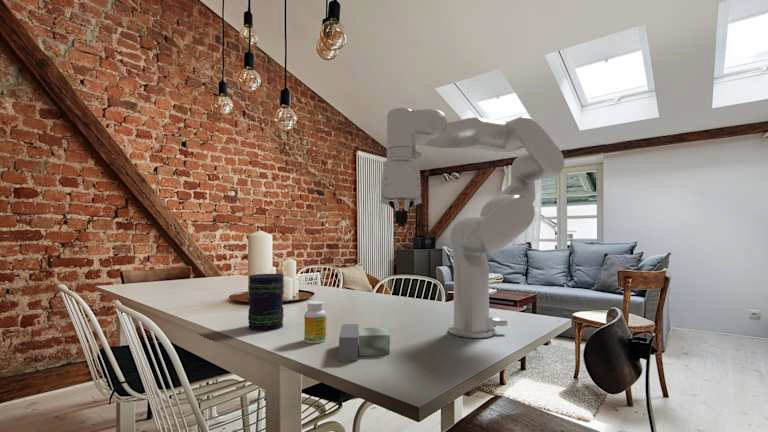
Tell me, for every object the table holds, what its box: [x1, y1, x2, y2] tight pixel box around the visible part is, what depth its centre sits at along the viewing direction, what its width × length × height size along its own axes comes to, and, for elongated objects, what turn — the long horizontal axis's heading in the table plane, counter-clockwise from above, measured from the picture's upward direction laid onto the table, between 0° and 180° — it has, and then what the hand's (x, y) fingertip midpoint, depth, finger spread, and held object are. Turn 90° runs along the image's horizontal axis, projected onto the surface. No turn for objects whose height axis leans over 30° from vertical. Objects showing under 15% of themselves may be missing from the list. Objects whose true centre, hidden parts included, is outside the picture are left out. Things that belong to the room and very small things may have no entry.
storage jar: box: [247, 273, 285, 332], centre depth 113 cm, size 10×10×15 cm
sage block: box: [358, 327, 391, 356], centre depth 92 cm, size 7×7×4 cm
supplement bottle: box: [303, 300, 327, 344], centre depth 99 cm, size 5×5×10 cm
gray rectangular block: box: [338, 323, 359, 362], centre depth 90 cm, size 4×12×5 cm, turn 3°
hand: (401, 226), depth 101 cm, fingers closed
